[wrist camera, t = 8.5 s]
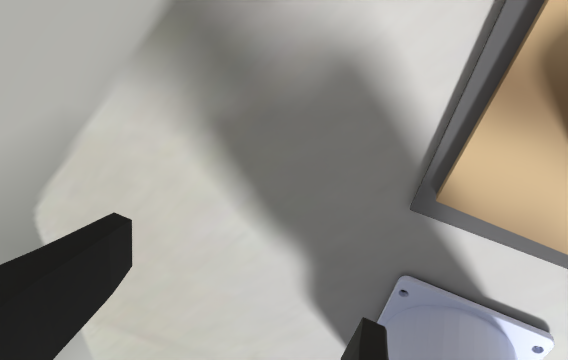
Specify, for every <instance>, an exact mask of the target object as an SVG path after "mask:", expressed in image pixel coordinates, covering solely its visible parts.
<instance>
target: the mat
mask: <svg viewBox="0 0 568 360" xmlns="http://www.w3.org/2000/svg"><path fill="white" fill-rule="evenodd" d="M544 1H545V0H506V1H505V3H504V5H503V7H502V9H501V11H500V14H499V16H498V18H497V20H496V22H495V24H494V27H493V29H492V31H491V33H490V35H489V37H488V40H487V42H486V44H485V46H484V48H483V50H482V53H481V55H480V57H479V59H478V61H477V63H476V66H475V68H474V70H473V72H472V74H471V76H470V79H469V81H468V83H467V85H466V87H465V89H464V92H463V94H462V96H461V98H460V100H459V102H458V105H457V107H456V109H455V111H454V113H453V115H452V118H451V120H450V122H449V124H448V126H447V128H446V131H445V133H444V135H443V137H442V139H441V141H440V144H439V146H438V148H437V150H436V152H435V154H434V157H433V159H432V161H431V163H430V165H429V167H428V170H427V172H426V174H425V176H424V178H423V180H422V183H421V185H420V187H419V189H418V191H417V193H416V196H415V198H414V200H413V202H412V204H411V208H410V210H412V211H415V212H417V213H420V214H423V215H425V216H428V217H431V218H433V219H436V220H439V221H441V222H444V223H447V224H449V225H452V226H455V227H457V228H460V229H463V230H465V231H468V232H471V233H473V234H476V235H479V236H481V237H484V238H487V239H489V240H492V241H495V242H497V243H500V244H503V245H505V246H508V247H511V248H513V249H516V250H519V251H521V252H524V253H527V254H529V255H532V256H535V257H537V258H540V259H543V260H545V261H548V262H551V263H553V264H556V265H559V266H561V267H564V268H567V269H568V255H567V254H565V253H562V252H560V251H557V250H555V249H552V248H550V247H547V246H545V245H542V244H540V243H538V242H535V241H533V240H530V239H528V238H525V237H523V236H520V235H518V234H515V233H513V232H511V231H508V230H506V229H503V228H501V227H498V226H496V225H493V224H491V223H488V222H486V221H484V220H481V219H479V218H476V217H474V216H471V215H469V214H466V213H464V212H461V211H459V210H457V209H454V208H452V207H449V206H447V205H444V204H442V203H439V202H437V201H436V195H437V193H438V191H439V189H440V187H441V186H442V184H443V182H444V180H445V179H446V177H447V175H448V173H449V171H450V170H451V168H452V166H453V164H454V162H455V161H456V159H457V157H458V155H459V153H460V152H461V150H462V148H463V146H464V145H465V143H466V141H467V139H468V137H469V136H470V134H471V132H472V130H473V128H474V127H475V125H476V123H477V121H478V119H479V118H480V116H481V114H482V112H483V111H484V109H485V107H486V105H487V103H488V102H489V100H490V98H491V96H492V94H493V93H494V91H495V89H496V87H497V85H498V84H499V82H500V80H501V78H502V77H503V75H504V73H505V71H506V69H507V68H508V66H509V64H510V62H511V60H512V59H513V57H514V55H515V53H516V51H517V50H518V48H519V46H520V44H521V42H522V41H523V39H524V37H525V35H526V34H527V32H528V30H529V28H530V26H531V25H532V23H533V21H534V19H535V17H536V16H537V14H538V12H539V10H540V8H541V7H542V5H543V3H544Z"/></svg>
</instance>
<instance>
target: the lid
mask: <svg viewBox="0 0 568 360" xmlns="http://www.w3.org/2000/svg"><path fill="white" fill-rule="evenodd" d="M436 201H437V202H439V203H442V204H444V205H447V206H449V207H452V208H454V209H457V210H459V211H461V212H464V213H466V214H469V215H471V216H474V217H476V218H479V219H481V220H484V221H486V222H488V223H491V224H493V225H496V226H498V227H501V228H503V229H506V230H508V231H511V232H513V233H515V234H518V235H520V236H523V237H525V238H528V239H530V240H533V241H535V242H538V243H540V244H542V245H545V246H547V247H550V248H552V249H555V250H557V251H560V252H562V253H565V254H567V255H568V0H545V1H544V3H543V5H542V7H541V8H540V10H539V12H538V14H537V16H536V17H535V19H534V21H533V23H532V25H531V26H530V28H529V30H528V32H527V34H526V35H525V37H524V39H523V41H522V42H521V44H520V46H519V48H518V50H517V51H516V53H515V55H514V57H513V59H512V60H511V62H510V64H509V66H508V68H507V69H506V71H505V73H504V75H503V77H502V78H501V80H500V82H499V84H498V85H497V87H496V89H495V91H494V93H493V94H492V96H491V98H490V100H489V102H488V103H487V105H486V107H485V109H484V111H483V112H482V114H481V116H480V118H479V119H478V121H477V123H476V125H475V127H474V128H473V130H472V132H471V134H470V136H469V137H468V139H467V141H466V143H465V145H464V146H463V148H462V150H461V152H460V153H459V155H458V157H457V159H456V161H455V162H454V164H453V166H452V168H451V170H450V171H449V173H448V175H447V177H446V179H445V180H444V182H443V184H442V186H441V187H440V189H439V191H438V193H437V195H436Z"/></svg>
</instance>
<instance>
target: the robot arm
mask: <svg viewBox="0 0 568 360" xmlns="http://www.w3.org/2000/svg"><path fill="white" fill-rule="evenodd" d="M131 267H132V220H131V219H128V218H126V217H124V216H121V215H119V214H116V213H112V214H110V215H108V216H105V217H103V218H101V219H99V220H97V221H95V222H93V223H91V224H89V225H87V226H85V227H83V228H81V229H79V230H77V231H75V232H73V233H70V234H68V235H66V236H64V237H62V238H60V239H58V240H56V241H54V242H51V243H49V244H47V245H45V246H43V247H41V248H39V249H36V250H34V251H32V252H30V253H27V254H25V255H22V256H20V257H18V258H15V259H13V260H11V261H8V262H6V263H4V264H1V265H0V360H53V359H54V358H55V357H56V356H57V354H58V353H59V352H60V351H61V350H62V349H63V347H65V346H66V345H67V343H68V342H69V341H70V340H71V339H72V338H73V337H74V336H75V335H76V333H77V332H78V331H79V330H80V329H81V328H82V327H83V326H84V325H85V324H86V323H87V322H88V321H89V319H90V318H91V317H92V316H93V315H94V314H95V313H96V312H97V311H98V310H99V308H100V307H101V306H102V305H103V304H104V303H105V302H106V301H107V299H108V298H109V297H110V296H111V295H112V294H113V292H114V291H115V290H116V288H117V287H118V285H119V284H120V283H121V281H122V280H123V278H124V277H125V276H126V274H127V273H128V271H129V270H130V268H131ZM400 290H406V291H407V292H402V291H400ZM554 345H555V344H554V339H553V336H552V335H551V334H549V333H548V332H545V331H543V330H540V329H538V328H535V327H533V326H531V325H528V324H526V323H523V322H521V321H518V320H516V319H513V318H511V317H508V316H506V315H504V314H501V313H499V312H496V311H494V310H491V309H489V308H486V307H484V306H481V305H479V304H477V303H474V302H472V301H469V300H467V299H464V298H462V297H459V296H457V295H455V294H452V293H450V292H447V291H445V290H442V289H440V288H437V287H435V286H432V285H430V284H428V283H425V282H423V281H420V280H418V279H415V278H413V277H410V276H402V277H400V278H399V279H398V281H397V283H396V285H395V287H394V289H393V291H392V293H391V295H390V297H389V299H388V301H387V303H386V305H385V307H384V309H383V311H382V313H381V315H380V317H379V319H378V321H377V323H375V322H373V321H371V320H368V319H366V318H364V317H363V318H362V320H361V322H360V324H359V326H358V328H357V329H356V331H355V333H354V335H353V337H352V339H351V340H350V342H349V344H348V346H347V348H346V350H345V352H344V353H343V355H342V357H341V360H542V359H543V358H544V357H545V356H546V355H547V354H548V352H549V351H550V350H551V349H552V348H553V347H554ZM534 346H540V347H534Z"/></svg>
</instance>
